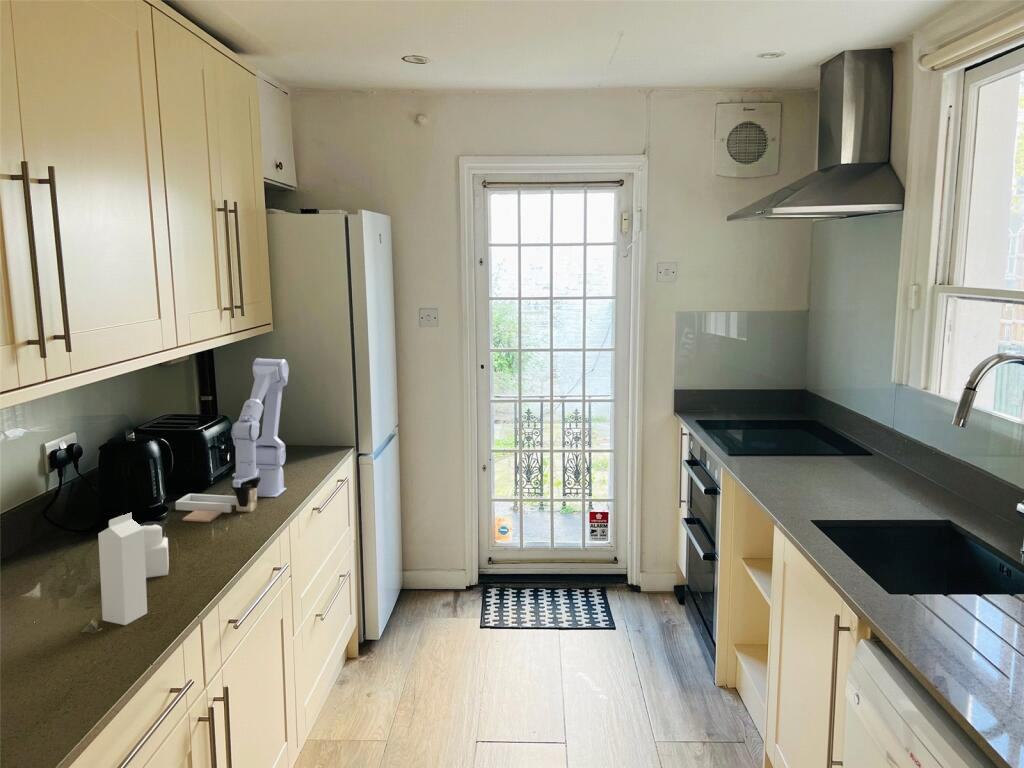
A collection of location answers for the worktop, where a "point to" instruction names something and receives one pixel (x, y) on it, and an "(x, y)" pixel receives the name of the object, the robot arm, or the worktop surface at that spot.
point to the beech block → (249, 501)
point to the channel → (206, 502)
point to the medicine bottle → (155, 549)
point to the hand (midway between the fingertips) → (246, 503)
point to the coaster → (202, 515)
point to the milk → (122, 570)
